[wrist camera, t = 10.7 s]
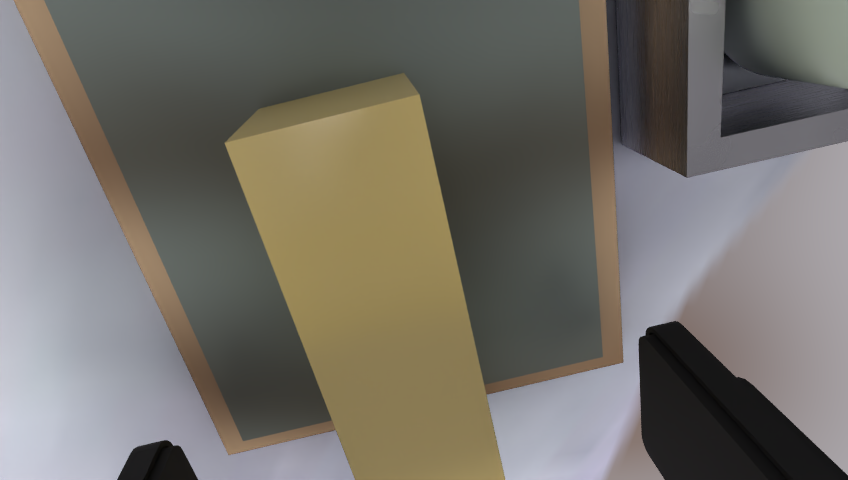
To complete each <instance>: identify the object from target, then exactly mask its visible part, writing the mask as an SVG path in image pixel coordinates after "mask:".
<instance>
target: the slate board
mask: <svg viewBox="0 0 848 480" xmlns="http://www.w3.org/2000/svg"><path fill="white" fill-rule="evenodd" d="M14 2H15V4H16V6H17V8H18V11H19V13H20V15H21V17H22V19H23V21H24V23H25V25H26V27H27V30H28V32H29V34H30V36H31V38H32V40H33V42H34V44H35V47H36V49H37V51H38V53H39V55H40V57H41V59H42V61H43V63H44V66H45V68H46V70H47V72H48V74H49V76H50V78H51V80H52V82H53V85H54V87H55V89H56V91H57V93H58V95H59V97H60V99H61V101H62V104H63V106H64V108H65V110H66V112H67V114H68V116H69V118H70V121H71V123H72V125H73V127H74V129H75V131H76V133H77V135H78V137H79V140H80V142H81V144H82V146H83V148H84V150H85V152H86V154H87V156H88V159H89V161H90V163H91V165H92V167H93V169H94V171H95V173H96V176H97V178H98V180H99V182H100V184H101V186H102V188H103V190H104V192H105V195H106V197H107V199H108V201H109V203H110V205H111V207H112V209H113V211H114V214H115V216H116V218H117V220H118V222H119V224H120V226H121V228H122V231H123V233H124V235H125V237H126V239H127V241H128V243H129V245H130V247H131V250H132V252H133V254H134V256H135V258H136V260H137V262H138V264H139V266H140V269H141V271H142V273H143V275H144V277H145V279H146V281H147V283H148V285H149V288H150V290H151V292H152V294H153V296H154V298H155V300H156V302H157V305H158V307H159V309H160V311H161V313H162V315H163V317H164V319H165V321H166V324H167V326H168V328H169V330H170V332H171V334H172V336H173V338H174V340H175V343H176V345H177V347H178V349H179V351H180V353H181V355H182V357H183V360H184V362H185V364H186V366H187V368H188V370H189V372H190V374H191V376H192V379H193V381H194V383H195V385H196V387H197V389H198V391H199V393H200V395H201V398H202V400H203V402H204V404H205V406H206V408H207V410H208V412H209V415H210V417H211V419H212V421H213V423H214V425H215V427H216V429H217V431H218V434H219V436H220V438H221V440H222V442H223V444H224V446H225V448H226V450H227V453H228V455H231V454H236V453H240V452H244V451H248V450H253V449H257V448H261V447H265V446H270V445H274V444H278V443H282V442H287V441H291V440H295V439H299V438H304V437H308V436H312V435H316V434H321V433H325V432H329V431H333V430H336V429H335V426H334V424H333V421H332V419H331V416H330V414H329V411H328V408H327V406H326V403H325V401H324V398H323V396H322V393H321V390H320V388H319V385H318V383H317V380H316V377H315V375H314V372H313V370H312V367H311V365H310V362H309V359H308V357H307V354H306V352H305V349H304V347H303V344H302V341H301V339H300V336H299V334H298V331H297V328H296V326H295V323H294V321H293V318H292V316H291V313H290V310H289V308H288V305H287V303H286V300H285V298H284V295H283V292H282V290H281V287H280V285H279V282H278V280H277V277H276V274H275V272H274V269H273V267H272V264H271V261H270V259H269V256H268V254H267V251H266V249H265V246H264V243H263V241H262V238H261V236H260V233H259V231H258V228H257V225H256V223H255V220H254V218H253V215H252V212H251V210H250V207H249V205H248V202H247V200H246V197H245V194H244V192H243V189H242V187H241V184H240V182H239V179H238V176H237V174H236V171H235V169H234V166H233V164H232V161H231V158H230V156H229V153H228V151H227V148H226V145H225V142H226V141H227V140H228V139H229V138H230V137H231V136H232V135H233V134H234V133H235V132H236V131H237V130H238V129H239V128H240V127H241V126H242V125H243V124H244V123H245V122H246V121H247V120H248V119H249V118H250V117H251V116H252V115H253V114H254V113H255V112H256V111H257V110H258V109H260V108H264V107H268V106H272V105H276V104H280V103H284V102H288V101H292V100H296V99H300V98H304V97H308V96H312V95H316V94H320V93H324V92H329V91H333V90H337V89H341V88H345V87H349V86H353V85H357V84H361V83H365V82H369V81H373V80H377V79H381V78H385V77H389V76H393V75H397V74H401V73H405V75H406V76H407V78H408V79H409V80H410V82H411V83H412V85H413V86H414V87H415V89H416V90H417V92H418V93H419V94H420V99H421V103H422V108H423V112H424V117H425V121H426V126H427V130H428V135H429V139H430V144H431V148H432V153H433V157H434V162H435V166H436V171H437V175H438V180H439V184H440V189H441V193H442V198H443V202H444V207H445V211H446V216H447V220H448V225H449V229H450V234H451V238H452V243H453V247H454V252H455V256H456V261H457V265H458V270H459V274H460V279H461V283H462V288H463V292H464V297H465V301H466V306H467V310H468V315H469V319H470V324H471V328H472V333H473V337H474V342H475V346H476V351H477V355H478V360H479V364H480V369H481V373H482V378H483V382H484V387H485V391H486V395H487V394H491V393H495V392H500V391H504V390H508V389H512V388H517V387H521V386H525V385H529V384H534V383H538V382H542V381H546V380H551V379H555V378H559V377H563V376H568V375H572V374H576V373H580V372H585V371H589V370H593V369H597V368H602V367H606V366H610V365H615V364H619V363H623V345H622V324H621V303H620V283H619V262H618V242H617V221H616V200H615V180H614V159H613V139H612V118H611V97H610V77H609V56H608V35H607V15H606V0H14Z"/></svg>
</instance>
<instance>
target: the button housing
mask: <svg viewBox="0 0 848 480" xmlns="http://www.w3.org/2000/svg"><path fill="white" fill-rule="evenodd" d="M725 4H726V0H616V16H617V41H618V65H619V89H620V113H621V137H622V145H624V146H626V147H628V148H630V149H632V150H634V151H636V152H638V153H640V154H642V155H644V156H646V157H648V158H650V159H651V160H653V161H655V162H657V163H659V164H661V165H663V166H665V167H667V168H669V169H671V170H673V171H675V172H677V173H679V174H681V175H683V176H685V177H692V176H696V175H701V174H705V173H709V172H714V171H718V170H723V169H727V168H731V167H736V166H740V165H745V164H749V163H753V162H758V161H762V160H767V159H771V158H776V157H780V156H784V155H789V154H793V153H798V152H802V151H806V150H811V149H815V148H820V147H824V146H828V145H833V144H837V143H842V142H846V141H848V89H845V88H839V87H832V86H826V85H820V84H814V83H808V82H801V81H795V80H787V81H783V82H778V83H774V84H769V85H765V86H760V87H756V88H752V89H747V90H743V91H738V92H734V93H729V94H725V95H722V85H723V58H724V31H725Z"/></svg>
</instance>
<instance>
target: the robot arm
mask: <svg viewBox="0 0 848 480" xmlns="http://www.w3.org/2000/svg"><path fill="white" fill-rule="evenodd" d="M639 368H640V398H641V425H642V426H641V428H642V439H643V443H644V446H645V448H646V451H647V452H648V454H649V456H650V458H651V459H652V461H653V462H654V464H655V465H656V467H657V468H658V470H659V471H660V473H661V474H662V476H663V477H664V479H665V480H848V475H847V474H846V473H845V472H843V471H842V470H841V469H840V468H839V467H838V466H837V465H836V464H835V463H834V462H833V461H832V460H831V459H830V458H829V457H828V456H827V455H826V454H825V453H824V452H822V451H821V450H820V449H819V448H818V447H817V446H816V445H815V444H814V443H813V442H812V441H811V440H810V439H809V438H808V437H806V435H805V434H804V433H803V432H801V431H800V430H799V429H798V428H797V427H796V426H795V425H794V424H793V423H792V422H791V421H790V420H789V419H788V418H787V417H786V416H785V415H784V414H783V413H782V412H780V411H779V410H778V409H777V408H776V407H775V406H774V405H773V404H772V403H771V402H770V401H769V400H768V399H767V398H766V397H765V396H764V395H763V394H762V393H761V392H759V391H758V390H757V389H756V388H755V387H754V386H753V385H752V384H751V383H749V382H748V381H747V380H746V379H743V378H740V377H737V378H736V377H735V376H734V375H733V374H732V373H731V372H730V371H729V370H728V369H727V368H726V367H725V366H724V365H723V364H722V363H721V362H720V361H719V360H718V359H717V358H716V357H715V356H714V355H713V354H712V353H711V352H710V351H708V350H707V349H706V348H705V347H704V346H703V345H702V344H701V343H700V342H699V341H698V340H697V339H696V338H695V337H694V336H693V335H692V334H691V333H690V332H689V331H688V330H687V329H686V328H685V327H684V326H683V325H682V324H680V323H679V322H676V321H674V322H669V323H665V324H661V325H657V326H652V327H649V328H647V330H646V336H642V337H640V338H639ZM117 480H198V479H197V477H196V475H195V473H194V471H193V469H192V467H191V465H190V463H189V461H188V459H187V458H186V456H185V454H184V452H183V450H182V448H181V447H180V446H173V445H172V443H171V442H169V441H168V440H164V441H160V442H155V443H151V444H147V445H143V446H138V447H136V448H135V449H133V451H132V452H131V454H130V456H129V458H128V460H127V462H126V464H125V465H124V467H123V469H122V471H121V473H120V475H119V477H118V479H117Z"/></svg>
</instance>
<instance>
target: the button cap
mask: <svg viewBox="0 0 848 480" xmlns="http://www.w3.org/2000/svg"><path fill="white" fill-rule="evenodd" d="M724 52H725V53H726V54H727V55H728V56H729V57H730V58H731V59H732V60H733V61H734V62H736V63H737V64H738V65H740V66H741V67H743V68H745V69H747V70H749V71H751V72H754V73H757V74H760V75H764V76H770V77H777V78H783V79H789V80H795V81H801V82H808V83H814V84H820V85H826V86H832V87H839V88H845V89H848V0H726V4H725V31H724Z"/></svg>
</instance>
